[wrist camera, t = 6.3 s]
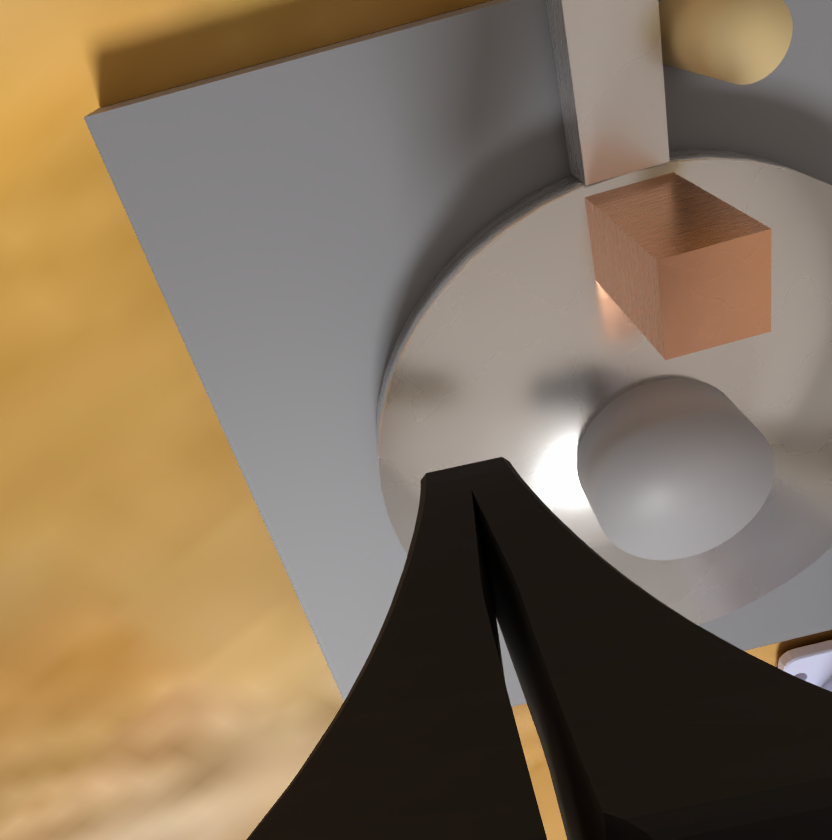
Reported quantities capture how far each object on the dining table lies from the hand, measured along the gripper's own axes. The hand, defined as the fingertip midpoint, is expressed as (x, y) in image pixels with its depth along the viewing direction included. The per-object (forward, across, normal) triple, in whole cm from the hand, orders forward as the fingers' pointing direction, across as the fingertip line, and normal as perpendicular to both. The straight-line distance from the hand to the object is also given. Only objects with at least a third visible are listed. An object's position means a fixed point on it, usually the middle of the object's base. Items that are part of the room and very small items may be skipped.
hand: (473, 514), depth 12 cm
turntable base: (+6, -4, +2) cm, 8 cm away
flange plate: (+5, -4, +1) cm, 6 cm away
